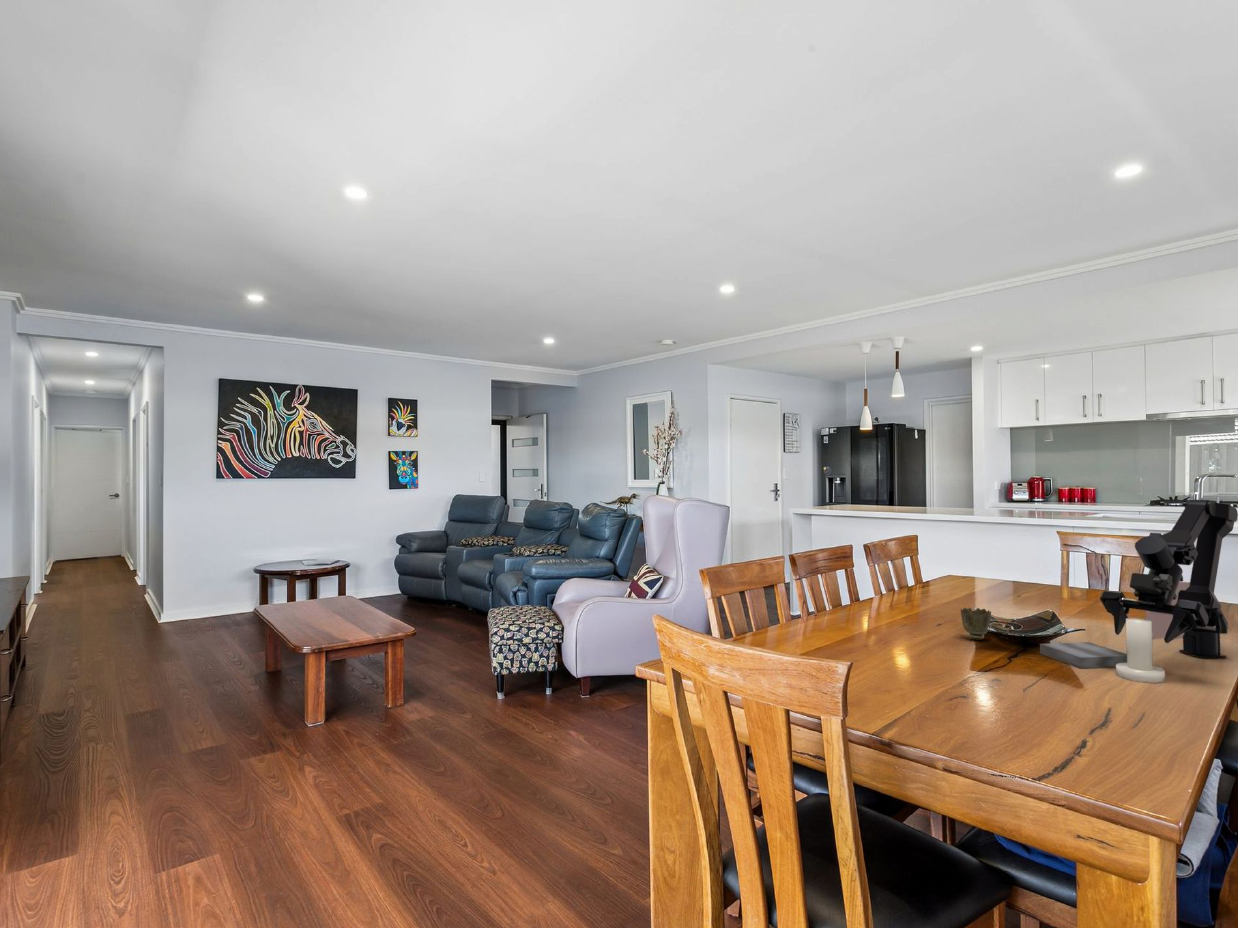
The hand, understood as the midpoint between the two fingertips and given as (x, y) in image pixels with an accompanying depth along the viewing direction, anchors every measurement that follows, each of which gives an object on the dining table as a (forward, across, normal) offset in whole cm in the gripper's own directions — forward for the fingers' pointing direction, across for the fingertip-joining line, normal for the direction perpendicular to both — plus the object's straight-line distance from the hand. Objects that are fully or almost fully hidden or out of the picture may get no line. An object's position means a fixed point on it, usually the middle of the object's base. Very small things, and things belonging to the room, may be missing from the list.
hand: (1140, 637), depth 147 cm
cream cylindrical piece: (+6, 0, +6) cm, 9 cm away
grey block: (+3, -13, +9) cm, 16 cm away
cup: (+4, -39, +8) cm, 40 cm away
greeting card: (-28, -12, +40) cm, 50 cm away
